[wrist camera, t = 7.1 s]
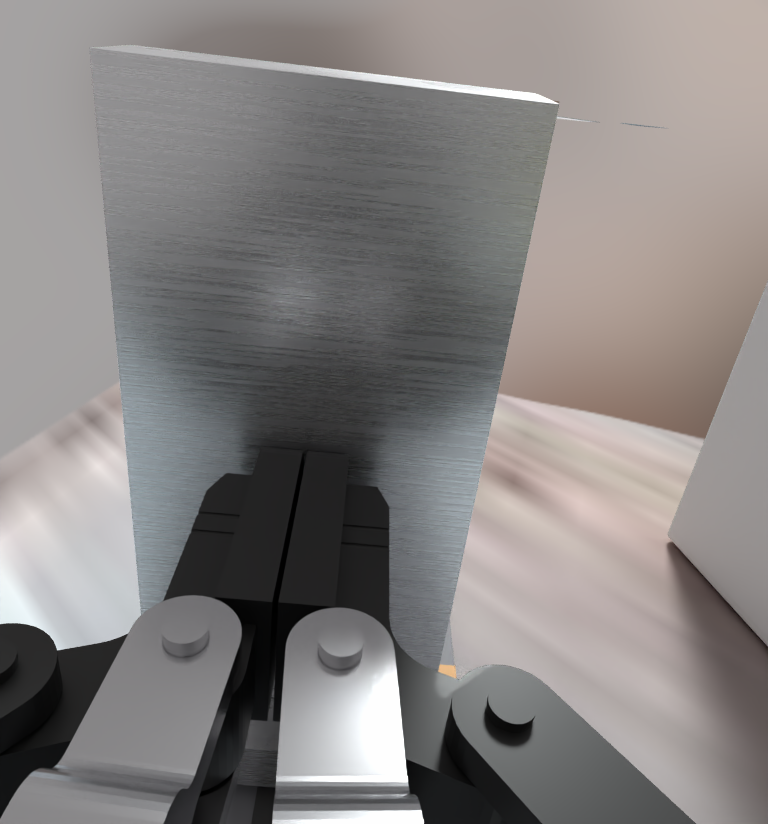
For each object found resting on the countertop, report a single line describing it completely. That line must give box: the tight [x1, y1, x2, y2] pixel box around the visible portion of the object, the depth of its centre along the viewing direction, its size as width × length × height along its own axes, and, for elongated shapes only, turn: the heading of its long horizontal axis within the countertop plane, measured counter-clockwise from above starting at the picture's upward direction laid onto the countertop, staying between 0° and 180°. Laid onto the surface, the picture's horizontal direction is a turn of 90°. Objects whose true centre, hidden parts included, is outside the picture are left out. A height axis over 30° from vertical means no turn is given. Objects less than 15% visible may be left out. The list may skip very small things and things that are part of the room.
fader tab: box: [89, 45, 559, 787], centre depth 13 cm, size 4×6×13 cm, turn 89°
